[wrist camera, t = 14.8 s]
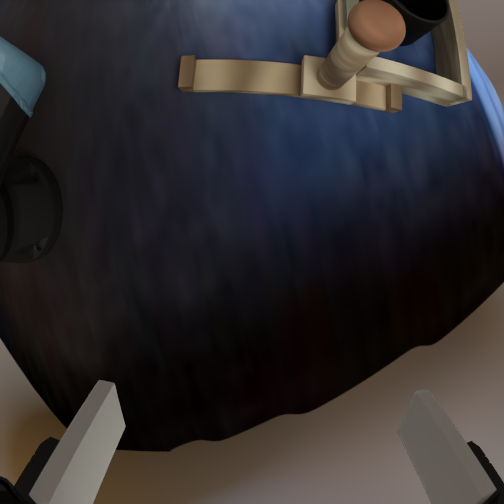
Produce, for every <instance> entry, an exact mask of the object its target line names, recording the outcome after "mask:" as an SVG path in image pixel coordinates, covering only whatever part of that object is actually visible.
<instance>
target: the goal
mask: <svg viewBox="0 0 504 504" xmlns="http://www.w3.org/2000/svg"><path fill="white" fill-rule="evenodd" d="M448 3H449V15H448V17H447V19H446V20H445V21H444V22H442V23H441V24H439V25H438V26H436V27H435V28H433V29H432V37H433V45H434V54H435V64H436V75H435V74H433V73H430V72H427V71H424V70H421V69H418V68H415V67H411V66H408V65H405V64H401V63H398V62H394V61H391V60H387V59H383V58H379V57H374V58H373V59H372V60H371V61H370V62H369V63H367V64H366V65H365V66H364V67H363V68H362V69H361V70H360V71H359V72H358V73H357V74H356V80H358V81H363V82H368V83H372V84H377V85H381V86H385V87H386V86H388V85H390V84H394V85H397V86H401V87H402V93H403V94H406V95H410V96H413V97H417V98H420V99H424V100H427V101H430V102H433V103H436V104H440V105H443V106H446V107H448V106H452V105H455V104H459V103H463V102H467V101H471V100H472V94H471V81H470V72H469V63H468V56H467V49H466V42H465V37H464V31H463V26H462V21H461V16H460V12H459V8H458V4H457V0H448Z"/></svg>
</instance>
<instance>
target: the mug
mask: <svg viewBox="0 0 504 504" xmlns="http://www.w3.org/2000/svg"><path fill="white" fill-rule="evenodd" d="M361 1H363V0H360V1H359V2H361ZM381 1H384V2H386V3H388V4H390V5H392V6H393V7H394V8H395V9H397V11H398V12H399V13H400V14H401V16H402V17H403V20H404V22H405V26H406V33H405V37H404V39H403V41H402V43H401V44H400V45H399V46H407V45H410V44H412V43H414V42H415V41H416V40H418V39H419V38H421V37H422V36H423V35H425V34H426V33H428V32H429V31H431V30H432V29H433V28H435V27H436V26H438V25H439V24H441V23H442V22H444V21H445V20H446V19H447V17H448V15H449V3H448V0H381Z"/></svg>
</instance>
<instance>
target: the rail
mask: <svg viewBox="0 0 504 504" xmlns="http://www.w3.org/2000/svg"><path fill="white" fill-rule="evenodd" d="M178 87H179V89H180V90H181V91H182V92H233V93H255V94H270V95H282V96H292V97H300V91H301V65H298V64H289V63H279V62H267V61H251V60H196V58H195V56H194V55H193V56H182V57H181V65H180V73H179V82H178ZM351 105H356V106H361V107H366V108H371V109H376V110H381V111H386V112H390V113H395V112H398V111H401V110H402V87H401V86H397V85H394V84H390V85H388V86H386V87H385V86H381V85H377V84H372V83H368V82H363V81H358V80H356V102H354V103H353V104H351Z"/></svg>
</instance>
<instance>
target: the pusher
mask: <svg viewBox="0 0 504 504" xmlns="http://www.w3.org/2000/svg"><path fill="white" fill-rule="evenodd" d="M335 20H336V44H335V46H334V47H333V49H332V50H331V51H330V53H329V54H328V56H327V57H326V58H321V57H315V56H307V55H304V57H303V59H302V64H301V91H300V98H307V99H315V100H323V101H329V102H336V103H342V104H348V105H351V104H353V103H354V102H356V74H357V73H358V72H359V71H360V70H361V69H362V68H363V67H364V66H365V65H366V64H367V63H369V62H370V61H371V60H372V59H373V58H374V57H375V56H377V55H378V54H379V53H380V52H387V51H390V50H393V49H395V48H397V47H398V46H399V45H400V44H401V43H402V41H403V39H404V37H405V33H406V26H405V22H404V20H403V17H402V16H401V14H400V13H399V12H398V11H397V9H395V8H394V7H393V6H392V5H390V4H388V3H386V2H384V1H381V0H363V1H361V2H359V0H337V3H336V4H335Z"/></svg>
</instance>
